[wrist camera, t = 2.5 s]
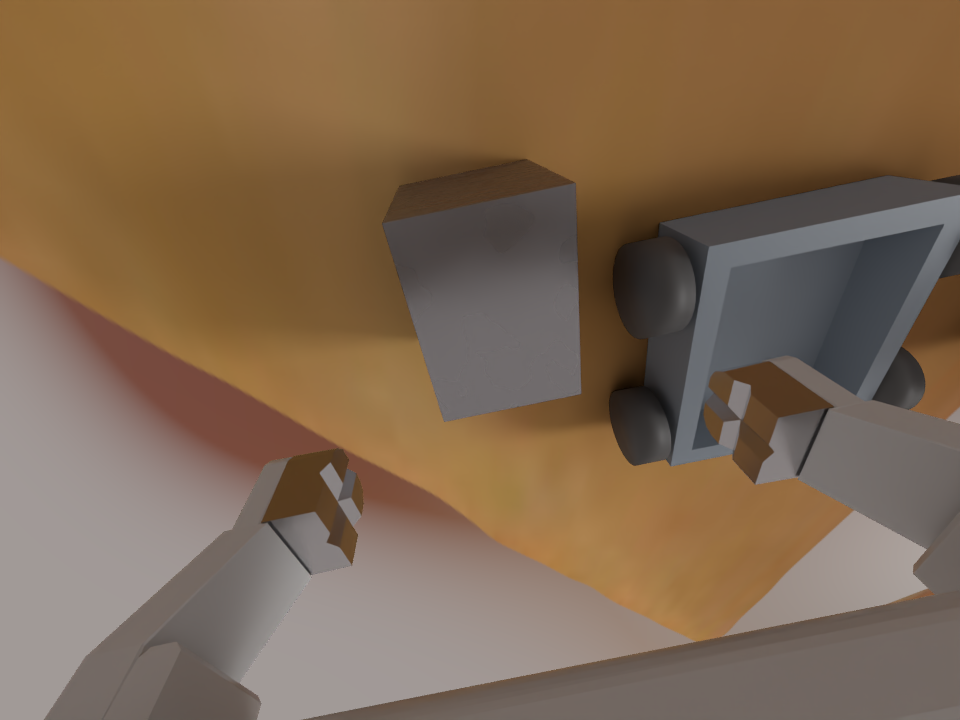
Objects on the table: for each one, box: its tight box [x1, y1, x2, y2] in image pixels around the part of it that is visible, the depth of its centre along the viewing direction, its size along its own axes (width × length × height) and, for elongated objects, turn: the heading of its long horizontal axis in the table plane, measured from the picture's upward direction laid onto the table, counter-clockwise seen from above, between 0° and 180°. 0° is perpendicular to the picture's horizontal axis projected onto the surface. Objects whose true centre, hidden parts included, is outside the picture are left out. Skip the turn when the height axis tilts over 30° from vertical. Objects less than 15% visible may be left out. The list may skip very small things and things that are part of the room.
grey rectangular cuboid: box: [382, 159, 581, 422], centre depth 14 cm, size 7×5×6 cm
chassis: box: [609, 175, 960, 466], centre depth 18 cm, size 12×14×4 cm
